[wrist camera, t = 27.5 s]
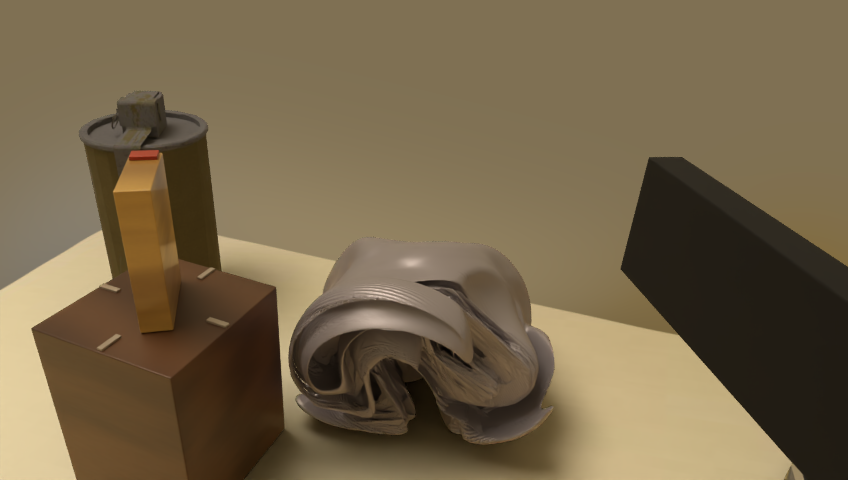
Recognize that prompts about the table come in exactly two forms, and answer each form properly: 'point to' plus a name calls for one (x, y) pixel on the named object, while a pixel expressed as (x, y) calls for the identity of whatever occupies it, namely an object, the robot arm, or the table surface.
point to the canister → (184, 166)
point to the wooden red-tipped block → (149, 239)
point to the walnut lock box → (167, 380)
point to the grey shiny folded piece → (423, 341)
